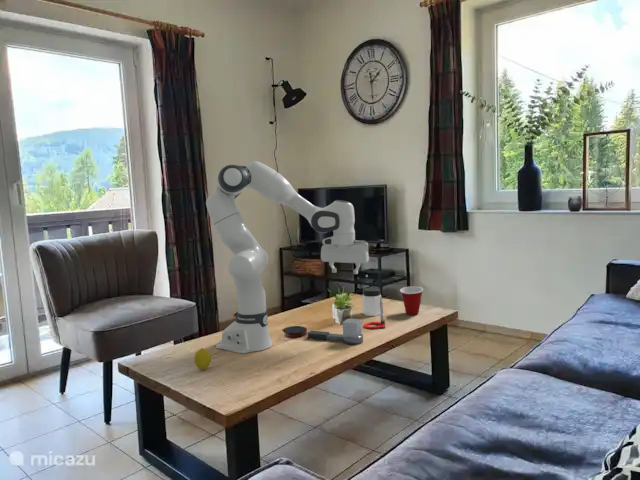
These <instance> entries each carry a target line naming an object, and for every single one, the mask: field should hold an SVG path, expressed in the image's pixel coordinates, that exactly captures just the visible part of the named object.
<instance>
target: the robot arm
mask: <svg viewBox="0 0 640 480" xmlns="http://www.w3.org/2000/svg"><path fill="white" fill-rule="evenodd" d="M245 189H252V190H254V191H256V192H257V193H258V194H260V195H261V196H263V197H264V198H266V199H268V200H269V201H271V202H273V203H276V204H280V205H284V206H286V207H290V208H291V209H292V210H293V211H295V212H297V213H298V214H300V215H301V216H303V218H305V219H306V220H307V222H308V223H309V225H310V227H311V228H313V230H314V231H315V232H317V233H320V234H326V233H330V232H333V235H331V236H329V237H326V238H323V239H322V246H321V249H320V260H321V261H322V262H323V263H329V264H328V265H329V266H330V267H329V268H331V273H332V274H334V273H335V274H337V272H338V271H337V267H335V266H334V264H335V263H346V264H355V266H356V267H355V269H353V270H352V271H353V275H358V274H359V269H360V267H361V264H362V265H363V264H364V265H365V264H367V263H368V262H369V261H370V255H369V254H370V253H369V249H370V248H369V242H367V241H366V240H359V239H358V240H356V230H355V221H356V218H355V207H354V205H353V203H351V202H350V201H346V200H341V199H336V200H334V201H333V202H332V203H330V204H329V205H327V206H324V207H323V206H318V205H314V204H312V202H310V201H308V200H307V199H306V198H304V197H303V196H302V195H300V194H299V193H298V192H297V191H296V190H295V188H294V186H292V184H291V183H290V182H289V181H288V180H287V179H286V178H285V176H283V175H282V174H280V172H277V170H275V169H273V168H271V167H270V166H268V165H267V164H264V163H262V162H260V161H258V160H257V161H256V160H255V161H252V162H249V164H247V165H237V164H228V165H226V166H224V167H222V168H221V169H220V171H219V173H218V175H217V178H216V191H215V192H213V193H211V194H210V195H209V196H208V197H206V198H207V199H206V201H205V205H206V208H207V212H208V215H209V218H210V220H211V222H212V225H213V226H214V229H215V230H216V233H217V234H218V235H219V238H220V239H221V242H222V243H223V244H224V245H225V246H226V247H227V248H228V249H229V250H230V251H231V252H232V254H233V256H232V258H230V260H229V263H228V267H227V268H228V272H229V274H230V276H231V277H232V279H233V284H234V287H235V292H236V297H237V298H236V299H237V312H235V313H234V314H232V318H234V321H233V322H232V323H231V324H229V325H228V326H227V327H225V328H224V330H223V331H222V335H221V340H219V341H218V342H217V343H216V344H215V345H216V349H219V350H223V351H224V350H225V351H229V352H233V353H239V354H247V353H252V352H258V351H263V350H266V349H267V350H268V349H269V348H270V347H272V346H273V341H272V339H271V336H270V331H269V330H270V329H269V325H268V324H269V315H268V309H267V299H266V290H265V288H264V285H263V282H262V277H261V273H262V272H263V271H265V270H266V268H267V266H268V263H269V255H268V253H267V251H266V249H264V248H262V246H261V245H260V244H259V242H258V241H257V239H256V237H254V235H253V234H252V233H251V231H250V230H249V228H248V226H247V225H246V223H245V221H244V218H243V216H242V215H241V212H240V211H239V209H238V207H237V204H236V201H235V199H237V197H239V195H241V194H242V192H243V191H244V190H245Z"/></svg>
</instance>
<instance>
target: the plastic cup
mask: <svg viewBox="0 0 640 480" xmlns="http://www.w3.org/2000/svg"><path fill="white" fill-rule="evenodd" d="M399 291H400V293H401V296H402V301H403V305H404V311H405V314H406V315H408V316H417V315H419V313H420V307H421V302H422V301H421V300H422V294H423V291H424V288H423V287H421V286H405V287H402V288H400V289H399Z"/></svg>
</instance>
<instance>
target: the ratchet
mask: <svg viewBox="0 0 640 480" xmlns="http://www.w3.org/2000/svg"><path fill="white" fill-rule="evenodd" d="M307 339H308V340H314V341H315V340H316V341H317V340H318V341H330V342H338V343H340V342H341V343H343V344H344V345H348V346H356V345H361V344H363V343H364V335H363V333H362V334H361V335H360V336H359V337H358V338H347V337H343V333H341V334H340V333H339V334H338V333H330V332H329V331H321V330H310V331H309V332H308V333H307Z"/></svg>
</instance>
